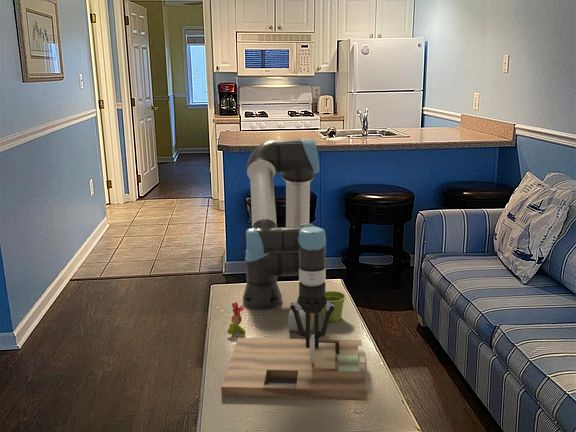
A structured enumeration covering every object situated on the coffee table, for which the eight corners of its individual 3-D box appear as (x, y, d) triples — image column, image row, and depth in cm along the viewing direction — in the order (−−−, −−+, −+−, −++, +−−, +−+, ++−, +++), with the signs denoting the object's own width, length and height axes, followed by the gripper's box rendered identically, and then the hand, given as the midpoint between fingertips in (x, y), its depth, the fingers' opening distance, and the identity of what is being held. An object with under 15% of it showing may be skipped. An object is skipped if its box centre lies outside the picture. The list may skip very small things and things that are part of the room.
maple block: (315, 357, 166) (315, 342, 165) (335, 358, 165) (335, 343, 164) (314, 368, 160) (314, 352, 159) (335, 368, 160) (335, 352, 158)
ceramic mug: (311, 336, 186) (311, 315, 184) (287, 334, 188) (287, 313, 186) (316, 323, 196) (316, 303, 195) (293, 321, 198) (293, 301, 196)
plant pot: (326, 326, 194) (326, 302, 192) (315, 315, 202) (314, 293, 200) (350, 321, 197) (350, 298, 195) (337, 311, 206) (337, 289, 204)
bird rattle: (226, 335, 193) (227, 336, 184) (225, 302, 195) (225, 302, 186) (244, 333, 194) (246, 334, 185) (243, 301, 195) (244, 301, 187)
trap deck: (238, 346, 180) (237, 329, 179) (361, 348, 177) (361, 331, 176) (221, 396, 152) (220, 376, 151) (366, 400, 149) (367, 380, 148)
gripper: (288, 286, 154) (289, 363, 160) (335, 287, 153) (334, 364, 159) (290, 276, 161) (291, 350, 167) (335, 277, 160) (334, 351, 166)
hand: (312, 357), depth 163 cm, fingers closed
